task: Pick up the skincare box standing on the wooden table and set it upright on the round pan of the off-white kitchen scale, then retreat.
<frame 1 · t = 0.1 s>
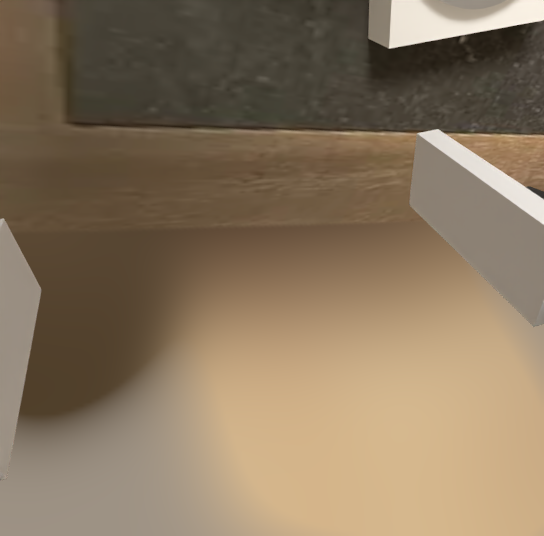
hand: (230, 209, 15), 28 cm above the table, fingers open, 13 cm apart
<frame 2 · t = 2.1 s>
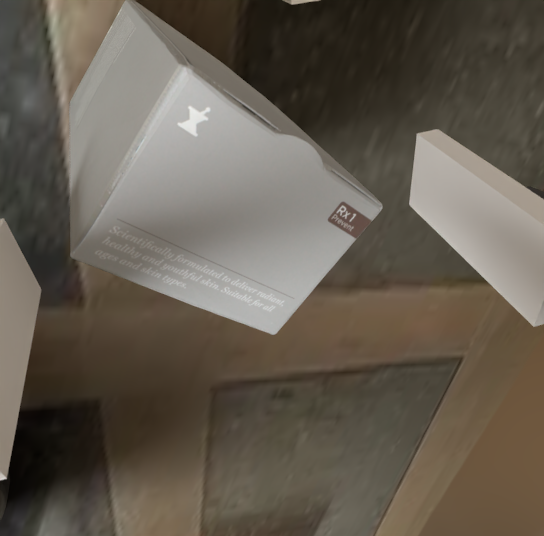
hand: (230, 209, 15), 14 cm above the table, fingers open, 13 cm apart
skincare box: (171, 89, 26), on the table
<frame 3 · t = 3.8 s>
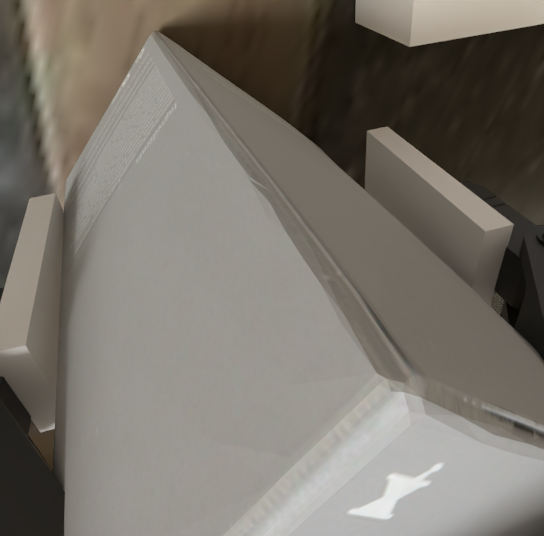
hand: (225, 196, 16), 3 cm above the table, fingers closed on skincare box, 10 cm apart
skincare box: (211, 154, 19), on the table, touching gripper
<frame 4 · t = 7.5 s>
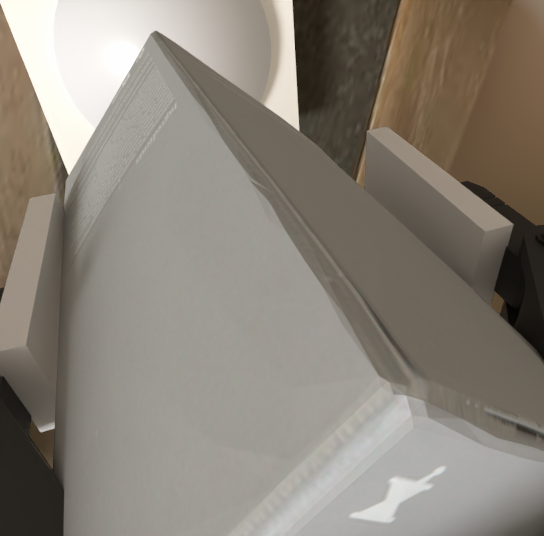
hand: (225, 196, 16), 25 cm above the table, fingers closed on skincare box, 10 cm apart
scale: (161, 35, 34), on the table
skincare box: (211, 154, 19), point 21 cm above the table, touching gripper
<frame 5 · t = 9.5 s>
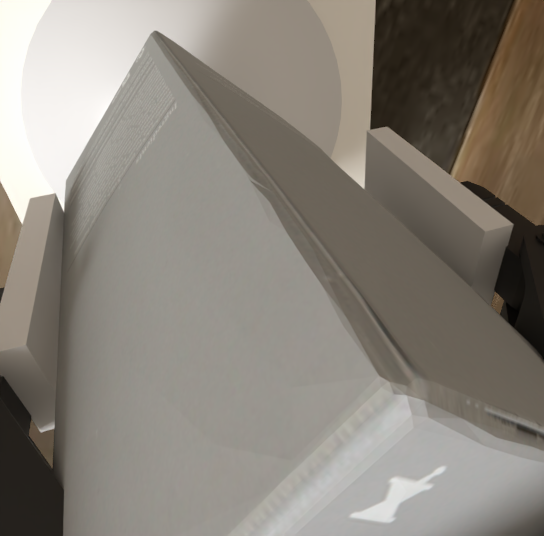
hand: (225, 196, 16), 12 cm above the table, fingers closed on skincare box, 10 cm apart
scale: (180, 85, 25), on the table
skincare box: (211, 154, 19), point 8 cm above the table, touching gripper
when the fingers open (9 cm above the table, at t = 11.2 s): skincare box stays where it is, resting on scale.
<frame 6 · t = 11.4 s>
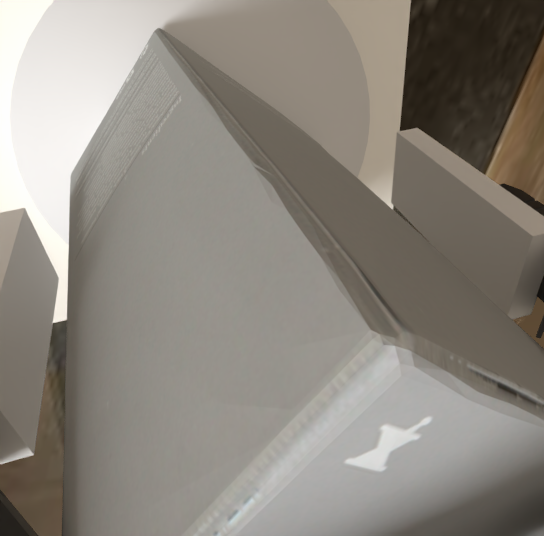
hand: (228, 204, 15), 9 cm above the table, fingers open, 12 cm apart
scale: (189, 101, 22), on the table
skincare box: (212, 150, 19), point 5 cm above the table, touching scale
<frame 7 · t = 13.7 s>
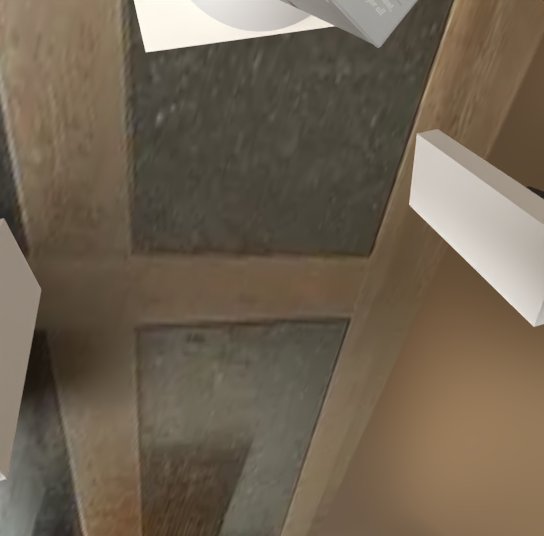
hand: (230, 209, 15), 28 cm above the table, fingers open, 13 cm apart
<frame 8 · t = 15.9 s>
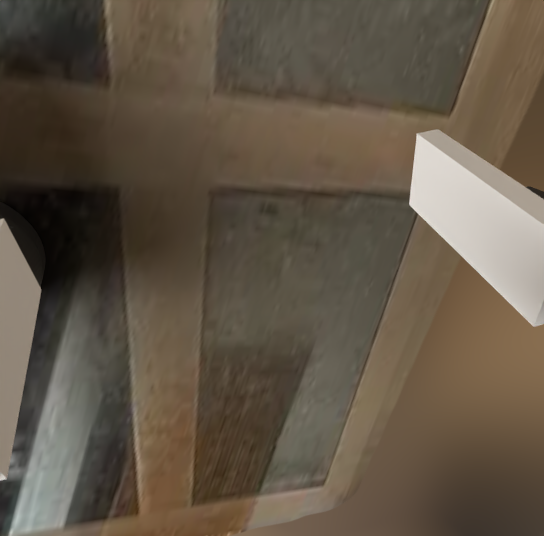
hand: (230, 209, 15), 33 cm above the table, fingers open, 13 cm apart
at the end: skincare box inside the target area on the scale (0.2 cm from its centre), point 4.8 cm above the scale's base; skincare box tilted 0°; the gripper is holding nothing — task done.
